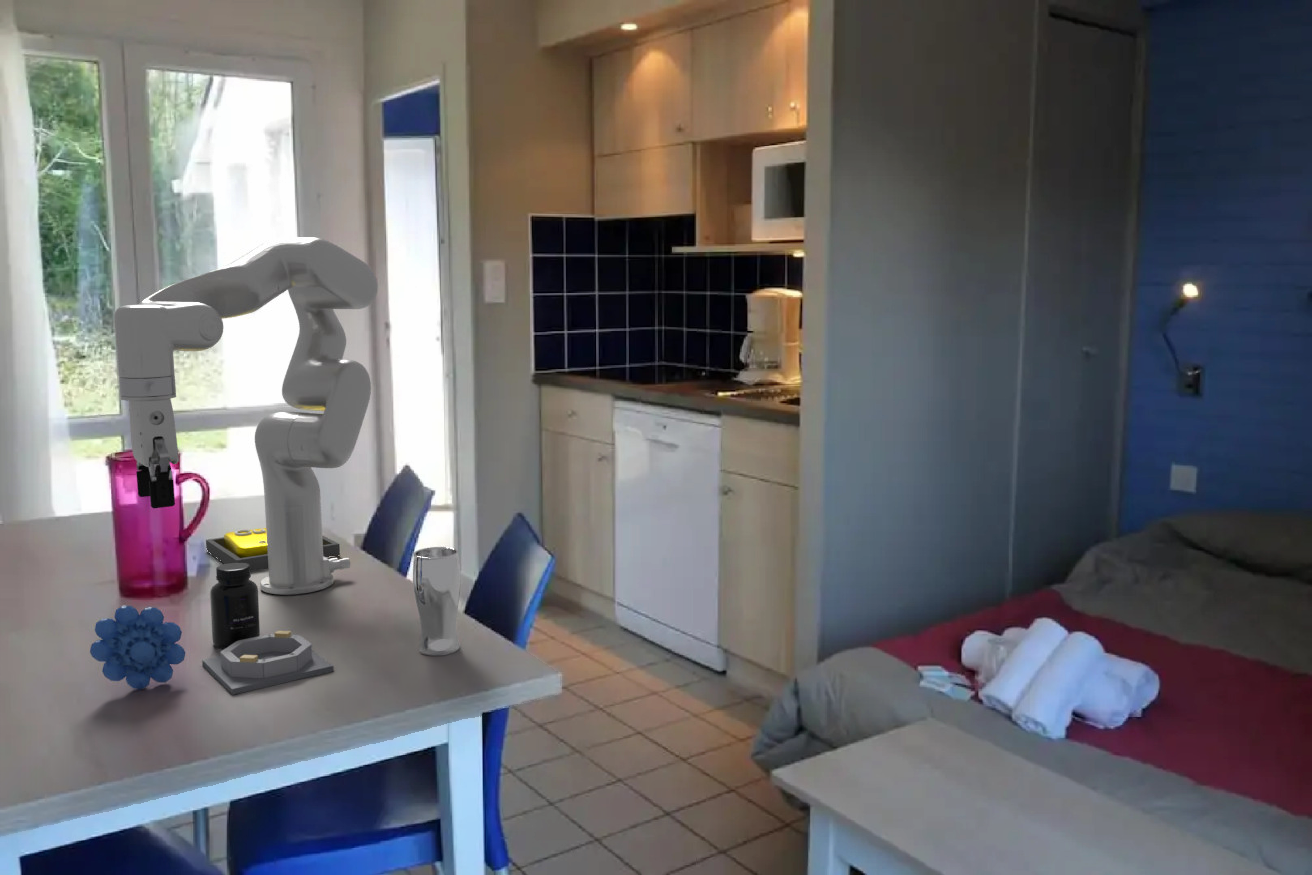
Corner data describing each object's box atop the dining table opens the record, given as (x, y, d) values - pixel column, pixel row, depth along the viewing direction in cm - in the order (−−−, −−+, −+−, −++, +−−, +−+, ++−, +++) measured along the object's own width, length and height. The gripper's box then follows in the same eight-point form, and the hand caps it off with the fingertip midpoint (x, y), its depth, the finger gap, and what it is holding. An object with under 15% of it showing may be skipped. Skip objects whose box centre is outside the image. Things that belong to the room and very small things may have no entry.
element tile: (239, 570, 206) (237, 546, 205) (223, 553, 219) (221, 530, 218) (318, 559, 214) (316, 535, 214) (298, 543, 227) (296, 521, 226)
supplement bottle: (244, 651, 161) (239, 573, 159) (203, 648, 162) (198, 571, 160) (269, 636, 168) (265, 561, 166) (230, 633, 169) (225, 559, 167)
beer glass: (422, 660, 157) (419, 560, 155) (410, 645, 163) (406, 549, 161) (468, 652, 160) (465, 554, 158) (454, 638, 166) (451, 544, 164)
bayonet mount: (298, 644, 164) (297, 621, 163) (333, 671, 153) (332, 646, 152) (202, 665, 155) (200, 641, 155) (232, 694, 144) (231, 669, 144)
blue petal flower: (99, 708, 140) (91, 620, 138) (91, 692, 145) (83, 606, 143) (194, 688, 146) (188, 604, 145) (183, 674, 152) (177, 591, 150)
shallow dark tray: (303, 536, 230) (303, 525, 230) (339, 556, 215) (339, 543, 214) (206, 551, 218) (205, 539, 218) (237, 573, 203) (236, 560, 202)
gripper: (188, 392, 155) (196, 508, 157) (163, 382, 169) (170, 489, 171) (131, 395, 150) (140, 515, 153) (110, 385, 164) (118, 494, 167)
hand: (156, 501), depth 162 cm, fingers open, 9 cm apart
